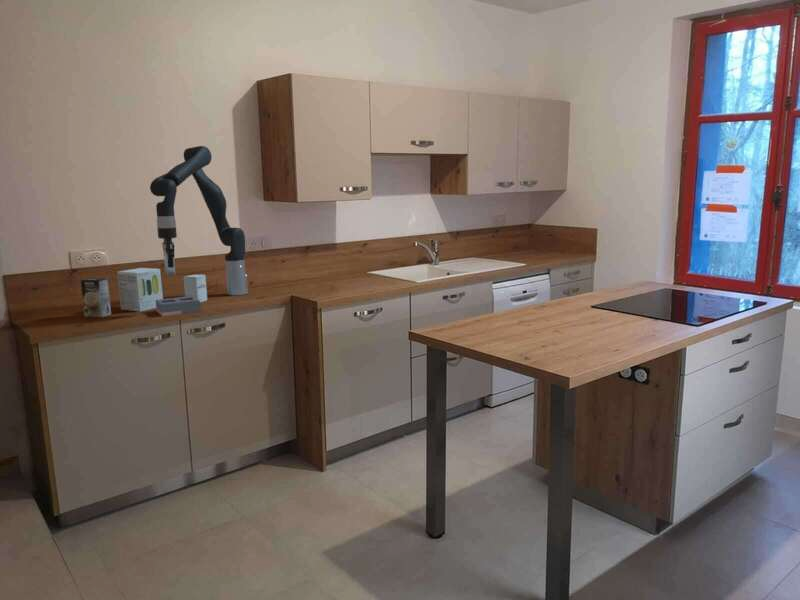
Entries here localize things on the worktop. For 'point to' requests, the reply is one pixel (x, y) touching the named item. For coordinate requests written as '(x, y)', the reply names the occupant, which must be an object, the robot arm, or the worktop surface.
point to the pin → (168, 270)
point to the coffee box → (96, 297)
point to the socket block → (178, 305)
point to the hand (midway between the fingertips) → (169, 266)
